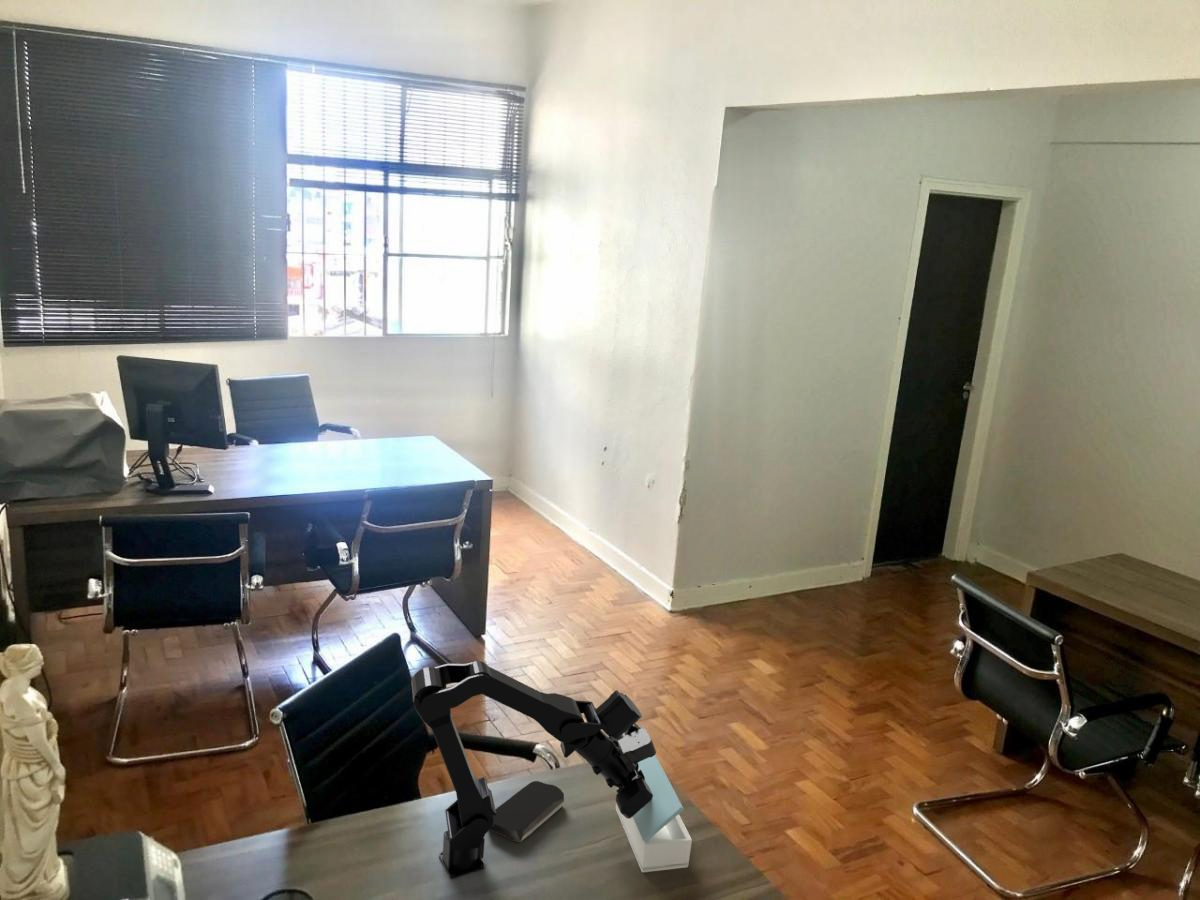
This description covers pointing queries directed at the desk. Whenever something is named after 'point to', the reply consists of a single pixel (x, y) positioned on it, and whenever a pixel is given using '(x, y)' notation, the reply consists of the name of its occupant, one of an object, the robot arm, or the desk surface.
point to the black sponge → (527, 810)
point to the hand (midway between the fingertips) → (649, 798)
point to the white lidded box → (659, 845)
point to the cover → (656, 800)
